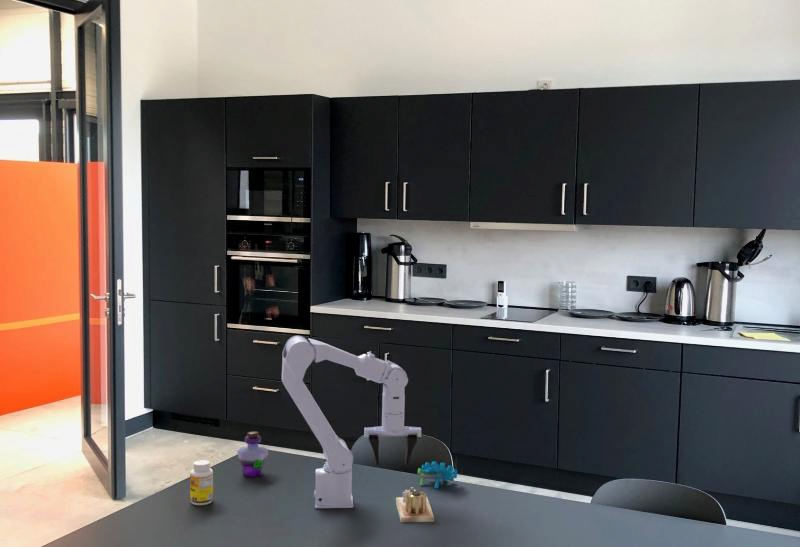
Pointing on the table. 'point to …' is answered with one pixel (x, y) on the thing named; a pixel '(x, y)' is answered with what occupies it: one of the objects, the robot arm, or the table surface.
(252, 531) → the table surface
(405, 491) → the sun gear
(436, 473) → the toy dinosaur
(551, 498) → the table surface
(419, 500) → the planet gear
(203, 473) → the supplement bottle
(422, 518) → the plate
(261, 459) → the potion bottle
